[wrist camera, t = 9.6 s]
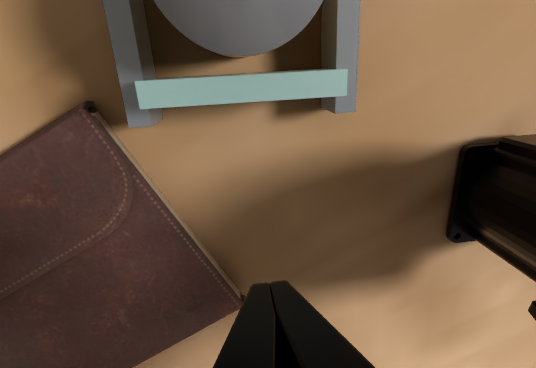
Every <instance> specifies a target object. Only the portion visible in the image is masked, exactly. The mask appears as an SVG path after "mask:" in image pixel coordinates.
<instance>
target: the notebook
mask: <svg viewBox="0 0 536 368" xmlns="http://www.w3.org/2000/svg"><path fill="white" fill-rule="evenodd" d="M94 106H95V104H94V103H93V101H85V102H84V103H82V104H81V105H79V106H77V107H76V108H74V109H73V110H71V111H70V112H68V113H67V114H65V115H63V116H62V117H60V118H59V119H57V120H56V121H54V122H53V123H51V124H50V125H48V126H46V127H45V128H43V129H42V130H40V131H39V132H37V133H36V134H34V135H33V136H31V137H29V138H28V139H26V140H25V141H23V142H22V143H20V144H19V145H17V146H15V147H14V148H12V149H11V150H9V151H8V152H6V153H5V154H3V155H2V156H0V368H132V367H134V366H136V365H138V364H140V363H142V362H143V361H145V360H147V359H149V358H151V357H152V356H154V355H156V354H158V353H160V352H162V351H163V350H165V349H167V348H169V347H171V346H172V345H174V344H176V343H178V342H180V341H182V340H183V339H185V338H187V337H189V336H191V335H193V334H194V333H196V332H198V331H200V330H202V329H203V328H205V327H207V326H209V325H211V324H213V323H214V322H216V321H218V320H220V319H222V318H224V317H225V316H227V315H229V314H231V313H233V312H234V311H236V310H238V309H240V308H241V307H242V304H243V302H244V300H245V298H246V297H245V296H244V295H241V293H240V292H239V290H238V289H237V288H236V286H235V285H234V284H233V283H232V281H231V280H230V279H229V278H228V276H227V275H226V274H225V272H224V271H223V270H222V269H221V267H220V266H219V265H218V264H217V262H216V261H215V260H214V258H213V257H212V256H211V255H210V253H209V252H208V251H207V250H206V248H205V247H204V246H203V244H202V243H201V242H200V241H199V239H198V238H197V237H196V236H195V234H194V233H193V232H192V230H191V229H190V228H189V227H188V225H187V224H186V223H185V222H184V220H183V219H182V218H181V216H180V215H179V214H178V213H177V211H176V210H175V209H174V208H173V206H172V205H171V204H170V202H169V201H168V200H167V199H166V197H165V196H164V195H163V194H162V192H161V191H160V190H159V188H158V187H157V186H156V185H155V183H154V182H153V181H152V180H151V178H150V177H149V176H148V174H147V173H146V172H145V171H144V169H143V168H142V167H141V166H140V164H139V163H138V162H137V160H136V159H135V158H134V157H133V155H132V154H131V153H130V152H129V150H128V149H127V148H126V146H125V145H124V144H123V143H122V141H121V140H120V139H119V138H118V136H117V135H116V134H115V132H114V131H113V130H112V129H111V127H110V126H109V125H108V124H107V122H106V121H105V120H104V118H103V117H102V116H101V115H100V113H99V112H98V111H97V112H96V113H89V112H88V110H90V109H91V108H93V107H94Z"/></svg>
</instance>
